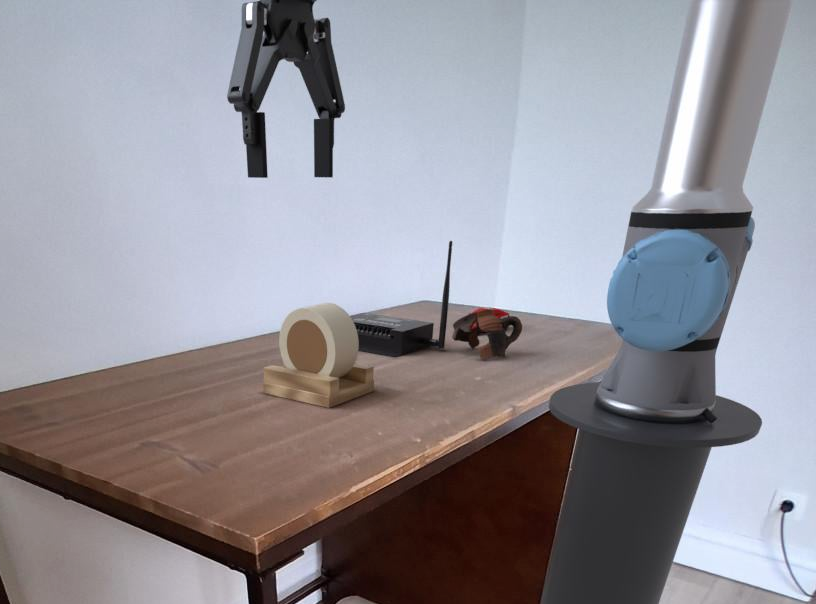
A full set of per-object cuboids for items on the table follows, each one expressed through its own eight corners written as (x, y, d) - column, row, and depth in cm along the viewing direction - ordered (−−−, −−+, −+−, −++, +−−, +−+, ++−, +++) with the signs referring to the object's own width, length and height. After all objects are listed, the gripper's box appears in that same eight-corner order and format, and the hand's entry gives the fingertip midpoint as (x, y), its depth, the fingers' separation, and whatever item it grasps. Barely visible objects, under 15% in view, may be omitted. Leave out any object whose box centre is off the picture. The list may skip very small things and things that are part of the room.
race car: (470, 337, 131) (473, 314, 129) (450, 332, 134) (452, 310, 132) (513, 328, 138) (516, 307, 135) (493, 324, 141) (495, 303, 139)
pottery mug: (467, 365, 114) (454, 315, 112) (455, 377, 123) (443, 332, 122) (534, 343, 114) (522, 294, 112) (517, 358, 123) (506, 312, 122)
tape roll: (358, 383, 96) (360, 306, 90) (335, 391, 93) (335, 312, 87) (304, 372, 101) (302, 299, 95) (280, 379, 97) (277, 304, 92)
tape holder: (373, 390, 98) (374, 366, 96) (329, 408, 91) (329, 381, 89) (310, 378, 104) (309, 354, 102) (263, 393, 97) (262, 367, 95)
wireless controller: (324, 344, 124) (323, 237, 114) (367, 332, 133) (371, 232, 123) (414, 360, 114) (423, 244, 104) (455, 346, 123) (466, 239, 113)
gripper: (327, -21, 87) (327, 176, 99) (183, -66, 71) (204, 177, 83) (374, -29, 83) (368, 177, 96) (234, -79, 67) (248, 178, 79)
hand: (292, 177), depth 89 cm, fingers open, 13 cm apart
